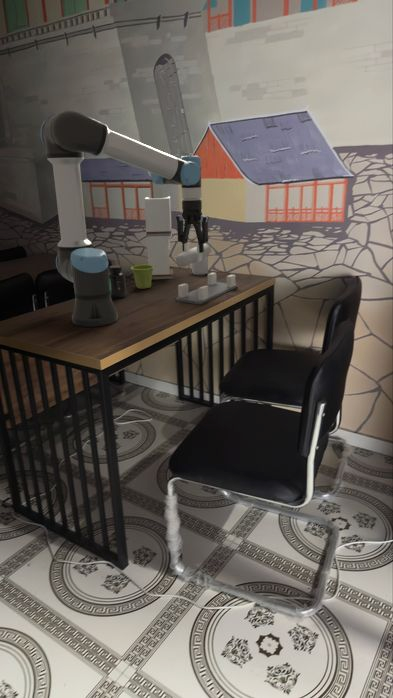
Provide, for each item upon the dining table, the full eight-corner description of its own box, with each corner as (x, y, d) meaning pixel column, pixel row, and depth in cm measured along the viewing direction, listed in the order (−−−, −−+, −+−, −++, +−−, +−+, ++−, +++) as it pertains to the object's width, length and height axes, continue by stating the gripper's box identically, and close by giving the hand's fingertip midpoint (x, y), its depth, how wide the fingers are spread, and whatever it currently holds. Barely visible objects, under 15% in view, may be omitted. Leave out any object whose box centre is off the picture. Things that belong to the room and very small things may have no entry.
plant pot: (151, 290, 205) (150, 269, 202) (129, 289, 207) (128, 269, 204) (157, 284, 214) (156, 264, 211) (136, 284, 215) (134, 264, 212)
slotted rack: (175, 300, 189) (175, 286, 187) (214, 284, 212) (214, 271, 210) (200, 304, 183) (199, 289, 181) (237, 287, 207) (237, 273, 205)
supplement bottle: (109, 299, 193) (106, 268, 189) (108, 294, 199) (106, 265, 195) (126, 297, 194) (124, 267, 190) (125, 293, 201) (123, 264, 196)
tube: (187, 257, 183) (212, 245, 205) (175, 252, 185) (201, 241, 206) (184, 270, 186) (209, 257, 207) (171, 265, 187) (197, 253, 208)
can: (192, 272, 236) (192, 247, 232) (208, 272, 236) (208, 246, 231) (191, 275, 229) (191, 249, 225) (208, 275, 229) (207, 249, 224)
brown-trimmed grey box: (172, 278, 224) (169, 198, 211) (149, 279, 224) (144, 198, 211) (173, 273, 235) (170, 196, 222) (150, 274, 235) (146, 197, 222)
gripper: (217, 198, 187) (217, 260, 195) (176, 198, 196) (179, 257, 204) (207, 200, 181) (208, 263, 189) (166, 199, 190) (169, 260, 198)
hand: (193, 260), depth 196 cm, fingers closed on tube, 5 cm apart
